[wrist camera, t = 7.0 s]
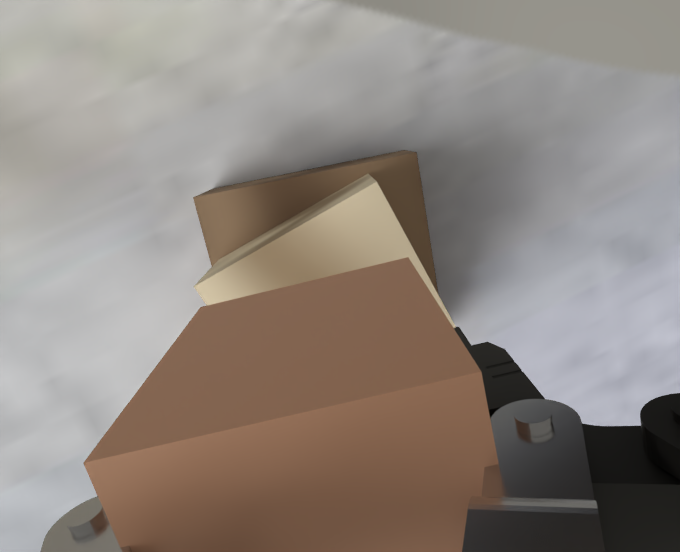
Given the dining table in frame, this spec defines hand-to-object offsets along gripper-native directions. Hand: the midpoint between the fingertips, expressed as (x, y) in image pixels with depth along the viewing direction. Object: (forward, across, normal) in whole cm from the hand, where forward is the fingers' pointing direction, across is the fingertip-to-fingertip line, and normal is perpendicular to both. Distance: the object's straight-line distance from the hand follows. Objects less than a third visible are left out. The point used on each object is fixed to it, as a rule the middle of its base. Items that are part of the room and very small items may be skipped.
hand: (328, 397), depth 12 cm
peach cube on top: (+1, 0, 0) cm, 1 cm away
